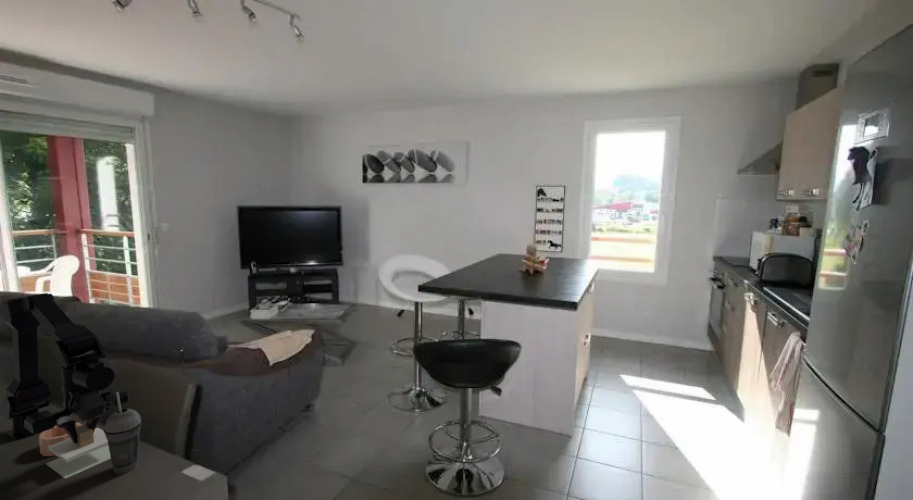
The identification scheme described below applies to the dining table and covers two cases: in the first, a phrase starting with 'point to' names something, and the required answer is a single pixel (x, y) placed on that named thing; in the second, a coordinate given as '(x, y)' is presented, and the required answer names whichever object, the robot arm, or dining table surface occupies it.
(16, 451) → the dining table surface
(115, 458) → the beverage cup
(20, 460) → the dining table surface
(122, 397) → the robot arm
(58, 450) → the cover sheet
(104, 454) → the mat
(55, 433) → the segmented pink ring
